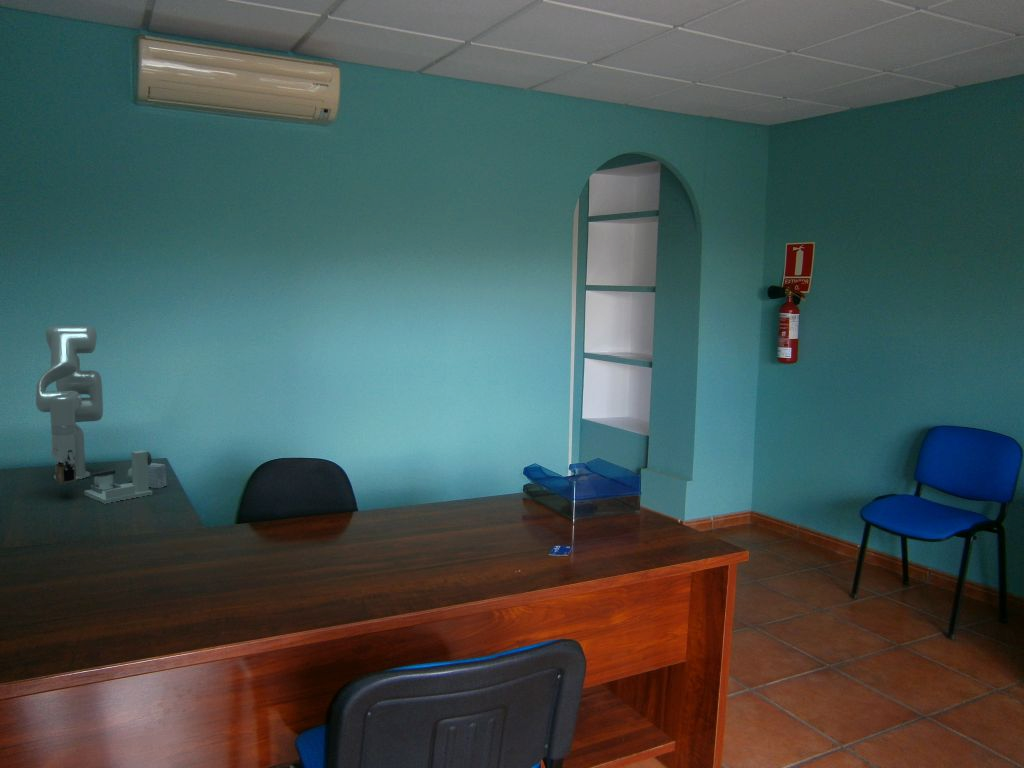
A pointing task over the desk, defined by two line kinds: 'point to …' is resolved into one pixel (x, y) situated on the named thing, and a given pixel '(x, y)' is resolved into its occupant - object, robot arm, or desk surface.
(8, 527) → the desk surface
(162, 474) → the medicine box
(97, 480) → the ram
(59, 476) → the block
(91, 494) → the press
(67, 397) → the robot arm
